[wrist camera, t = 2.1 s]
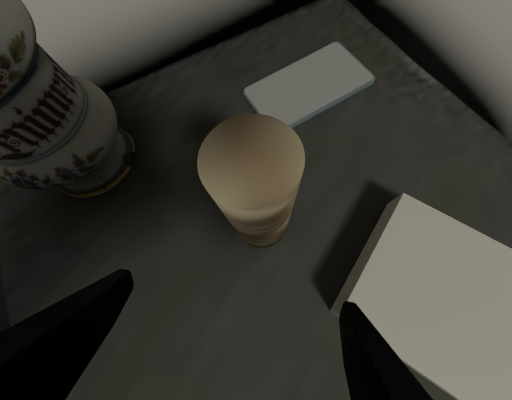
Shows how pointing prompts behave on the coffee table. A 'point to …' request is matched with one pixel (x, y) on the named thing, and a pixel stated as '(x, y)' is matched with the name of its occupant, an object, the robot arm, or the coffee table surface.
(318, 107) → the smartphone
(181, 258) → the coffee table surface
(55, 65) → the apothecary jar
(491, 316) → the cream plinth
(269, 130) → the birch pillar
